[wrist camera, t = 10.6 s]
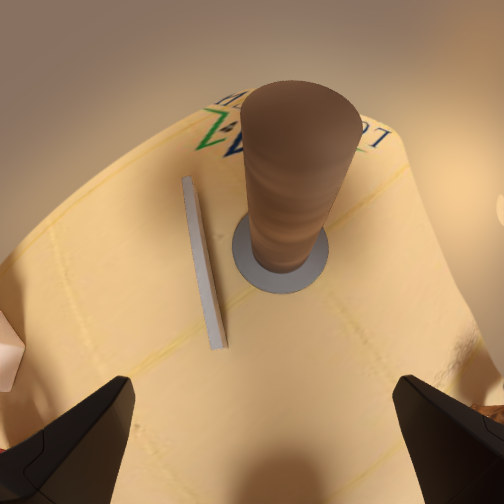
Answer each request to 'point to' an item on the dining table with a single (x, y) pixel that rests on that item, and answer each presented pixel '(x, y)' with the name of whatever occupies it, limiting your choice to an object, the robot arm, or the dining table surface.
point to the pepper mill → (294, 166)
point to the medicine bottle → (9, 354)
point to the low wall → (203, 267)
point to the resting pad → (273, 280)
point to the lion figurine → (491, 412)
